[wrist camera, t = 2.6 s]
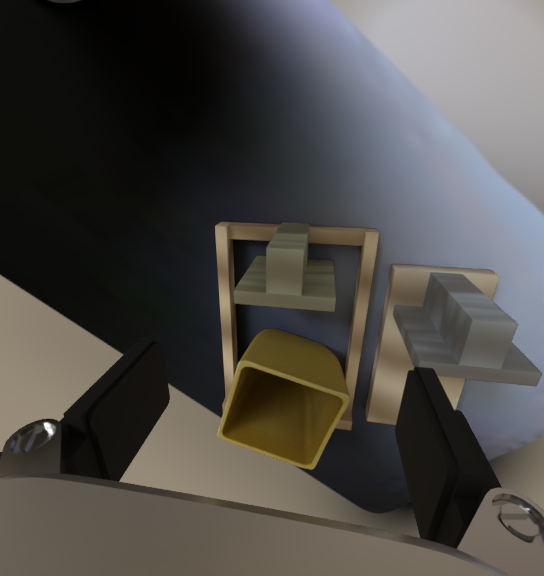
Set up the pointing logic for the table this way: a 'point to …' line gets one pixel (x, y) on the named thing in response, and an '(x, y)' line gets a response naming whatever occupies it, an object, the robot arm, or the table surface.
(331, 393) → the flower pot
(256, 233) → the wooden frame with block
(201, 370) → the table surface
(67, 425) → the robot arm
